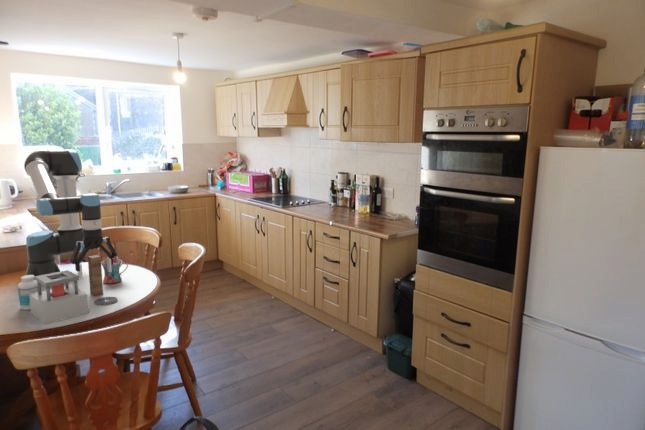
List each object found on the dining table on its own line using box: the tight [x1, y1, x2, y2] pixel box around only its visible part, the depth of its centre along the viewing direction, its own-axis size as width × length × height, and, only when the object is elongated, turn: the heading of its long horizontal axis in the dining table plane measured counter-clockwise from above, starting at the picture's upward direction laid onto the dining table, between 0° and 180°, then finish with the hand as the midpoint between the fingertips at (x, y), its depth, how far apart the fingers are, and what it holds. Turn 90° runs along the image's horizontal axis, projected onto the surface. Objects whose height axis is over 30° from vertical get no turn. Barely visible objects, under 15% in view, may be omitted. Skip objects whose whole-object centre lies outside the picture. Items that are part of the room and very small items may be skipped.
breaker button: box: [50, 283, 65, 298], centre depth 174 cm, size 4×4×8 cm
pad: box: [94, 296, 118, 306], centre depth 188 cm, size 9×9×1 cm
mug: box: [101, 258, 129, 284], centre depth 214 cm, size 12×9×11 cm
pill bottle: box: [17, 275, 38, 311], centre depth 179 cm, size 8×7×14 cm
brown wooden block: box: [87, 254, 104, 297], centre depth 195 cm, size 4×4×18 cm
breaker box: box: [29, 269, 90, 325], centre depth 174 cm, size 16×16×16 cm
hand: (95, 274), depth 195 cm, fingers open, 12 cm apart
